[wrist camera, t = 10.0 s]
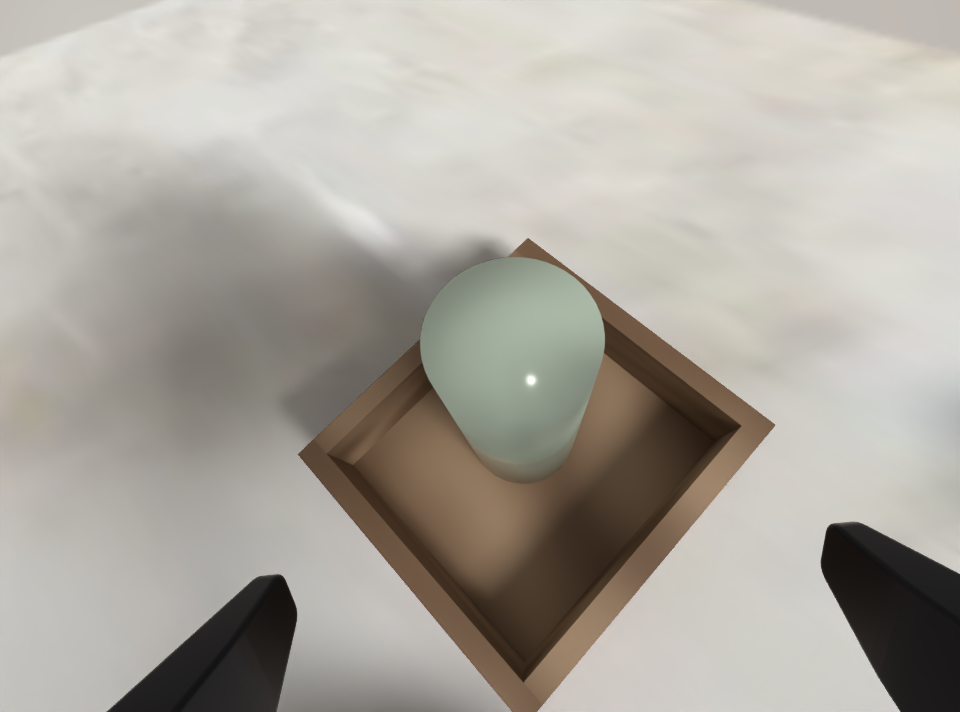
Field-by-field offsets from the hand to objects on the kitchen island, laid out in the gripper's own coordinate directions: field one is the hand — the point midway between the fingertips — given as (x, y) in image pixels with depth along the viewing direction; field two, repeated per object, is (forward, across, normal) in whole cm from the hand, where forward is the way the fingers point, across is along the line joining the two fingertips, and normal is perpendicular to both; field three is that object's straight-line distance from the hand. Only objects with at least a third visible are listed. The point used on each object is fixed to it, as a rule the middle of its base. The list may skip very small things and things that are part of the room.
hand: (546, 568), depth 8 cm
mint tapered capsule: (+12, 0, +5) cm, 13 cm away
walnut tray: (+12, 0, +6) cm, 13 cm away
